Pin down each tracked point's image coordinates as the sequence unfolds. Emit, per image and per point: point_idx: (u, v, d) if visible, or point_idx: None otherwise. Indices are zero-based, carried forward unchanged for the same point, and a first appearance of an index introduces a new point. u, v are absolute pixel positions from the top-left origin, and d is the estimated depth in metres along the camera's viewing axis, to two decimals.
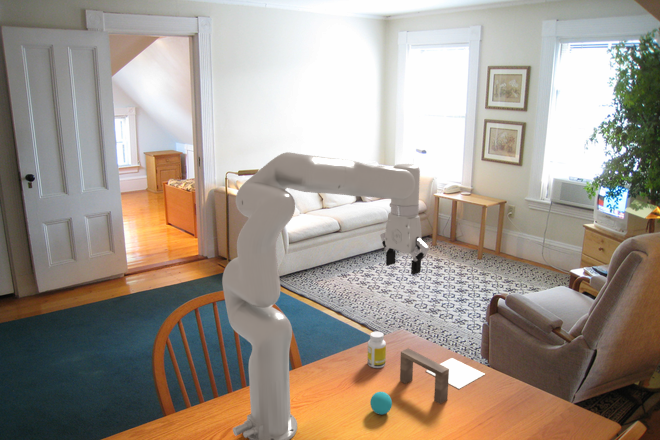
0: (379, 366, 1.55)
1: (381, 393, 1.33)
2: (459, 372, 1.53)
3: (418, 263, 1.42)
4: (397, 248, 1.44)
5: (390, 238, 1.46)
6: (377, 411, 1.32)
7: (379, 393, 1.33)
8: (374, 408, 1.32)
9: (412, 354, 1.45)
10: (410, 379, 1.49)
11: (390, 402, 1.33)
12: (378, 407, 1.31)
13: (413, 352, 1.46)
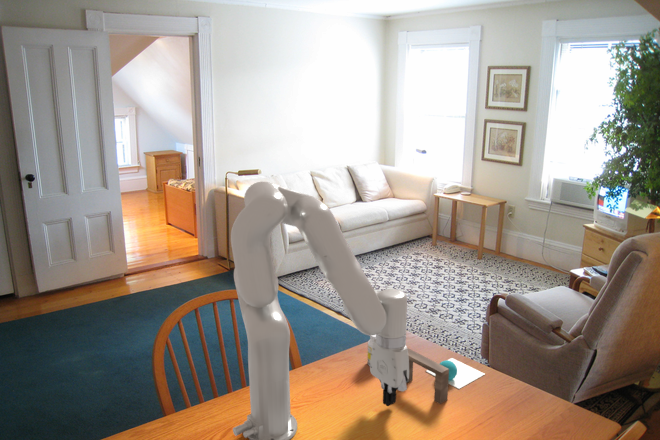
0: None
1: None
2: (459, 372, 1.53)
3: (392, 395, 1.34)
4: (383, 380, 1.32)
5: (375, 367, 1.34)
6: (454, 364, 1.49)
7: None
8: None
9: (412, 354, 1.45)
10: (410, 379, 1.49)
11: (452, 378, 1.47)
12: None
13: (413, 352, 1.46)
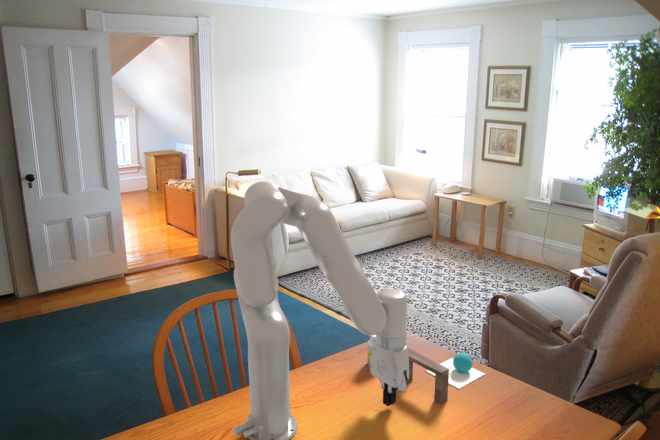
0: None
1: (457, 361, 1.51)
2: (459, 372, 1.53)
3: (392, 395, 1.34)
4: (383, 380, 1.32)
5: (375, 367, 1.34)
6: None
7: (456, 361, 1.52)
8: None
9: (412, 354, 1.45)
10: (410, 379, 1.49)
11: (468, 361, 1.51)
12: (462, 371, 1.51)
13: (413, 352, 1.46)
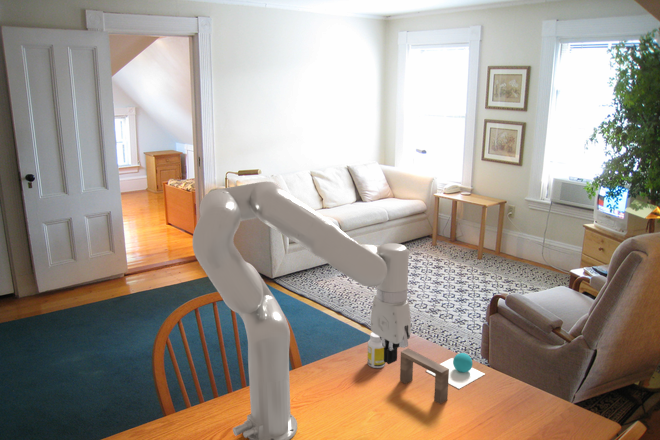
0: (379, 366, 1.55)
1: (457, 361, 1.51)
2: (459, 372, 1.53)
3: (393, 352, 1.31)
4: (384, 336, 1.29)
5: (376, 324, 1.31)
6: None
7: (456, 361, 1.52)
8: None
9: (412, 354, 1.45)
10: (410, 379, 1.49)
11: (468, 361, 1.51)
12: (462, 371, 1.51)
13: (413, 352, 1.46)
